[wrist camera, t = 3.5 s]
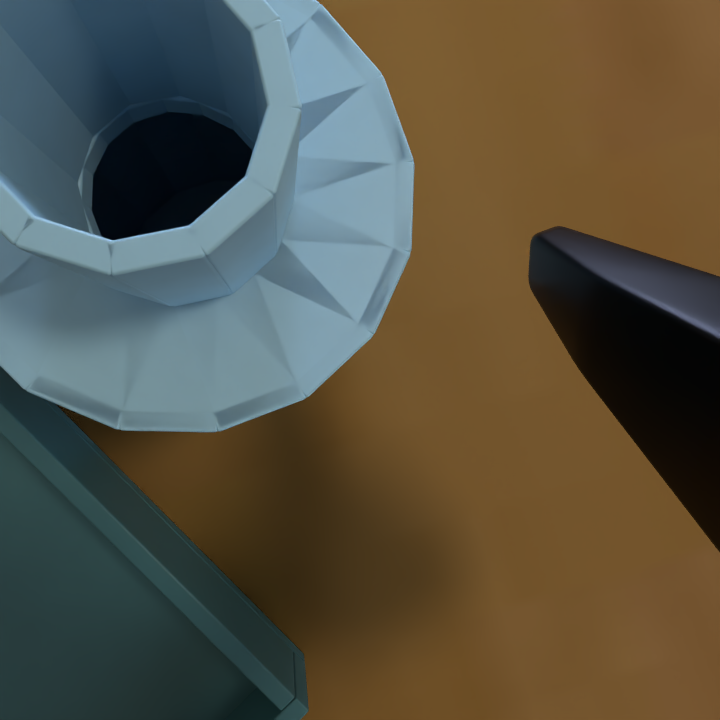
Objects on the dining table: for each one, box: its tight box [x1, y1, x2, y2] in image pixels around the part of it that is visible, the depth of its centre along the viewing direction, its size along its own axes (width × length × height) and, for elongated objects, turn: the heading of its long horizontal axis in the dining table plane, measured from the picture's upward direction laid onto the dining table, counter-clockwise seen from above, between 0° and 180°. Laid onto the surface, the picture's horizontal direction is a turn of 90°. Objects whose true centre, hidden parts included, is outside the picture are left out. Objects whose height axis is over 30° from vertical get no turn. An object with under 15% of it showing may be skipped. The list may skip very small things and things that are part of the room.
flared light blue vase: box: [0, 0, 414, 432], centre depth 12 cm, size 6×6×13 cm
